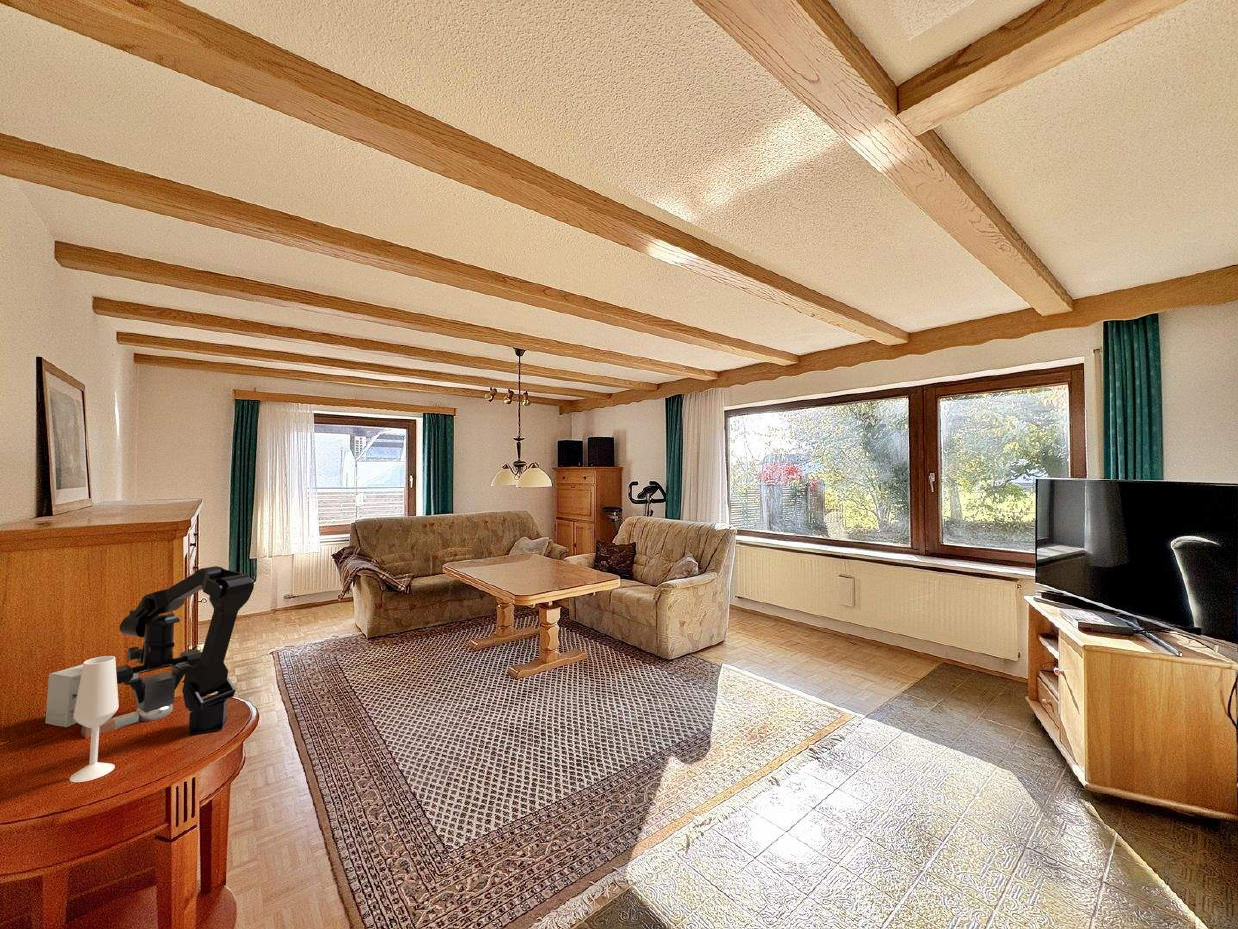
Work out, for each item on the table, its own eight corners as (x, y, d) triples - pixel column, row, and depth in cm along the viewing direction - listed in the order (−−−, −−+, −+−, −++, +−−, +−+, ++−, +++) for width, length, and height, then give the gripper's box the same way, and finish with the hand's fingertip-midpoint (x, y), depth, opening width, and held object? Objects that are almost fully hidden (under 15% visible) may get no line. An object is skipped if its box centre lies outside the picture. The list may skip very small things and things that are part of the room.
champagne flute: (113, 759, 111) (119, 652, 111) (116, 772, 106) (123, 660, 107) (68, 773, 105) (75, 659, 106) (70, 786, 101) (77, 668, 102)
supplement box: (66, 728, 123) (69, 677, 123) (44, 724, 124) (47, 673, 124) (102, 714, 130) (105, 666, 130) (81, 710, 131) (84, 662, 132)
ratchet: (79, 731, 121) (81, 705, 122) (167, 706, 135) (168, 682, 135) (87, 740, 118) (89, 713, 118) (176, 713, 132) (177, 689, 132)
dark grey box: (166, 697, 135) (167, 671, 135) (174, 703, 132) (175, 676, 132) (136, 705, 130) (137, 678, 130) (143, 712, 126) (145, 684, 127)
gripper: (191, 625, 143) (188, 679, 143) (100, 642, 127) (96, 703, 127) (207, 632, 137) (204, 689, 137) (113, 651, 121) (109, 715, 121)
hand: (155, 698), depth 131 cm, fingers closed on dark grey box, 6 cm apart
